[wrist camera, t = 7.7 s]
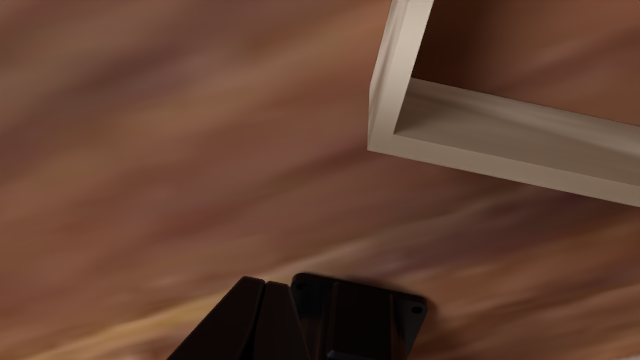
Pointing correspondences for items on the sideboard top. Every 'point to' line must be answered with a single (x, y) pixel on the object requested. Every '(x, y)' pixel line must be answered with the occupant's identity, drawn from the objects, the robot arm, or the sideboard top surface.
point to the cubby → (492, 126)
